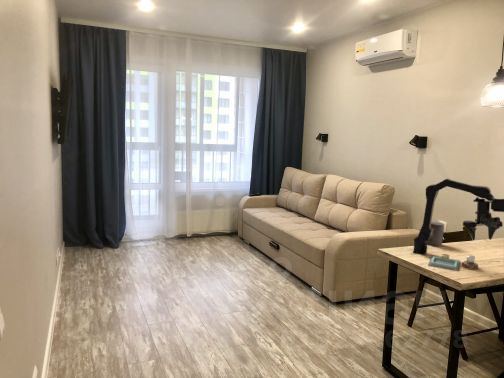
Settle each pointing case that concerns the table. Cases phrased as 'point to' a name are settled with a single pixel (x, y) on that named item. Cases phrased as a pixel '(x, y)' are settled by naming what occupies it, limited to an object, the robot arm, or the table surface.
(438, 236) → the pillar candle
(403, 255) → the table surface
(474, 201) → the robot arm
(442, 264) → the carrier plate
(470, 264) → the planet gear
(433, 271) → the table surface
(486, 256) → the table surface
